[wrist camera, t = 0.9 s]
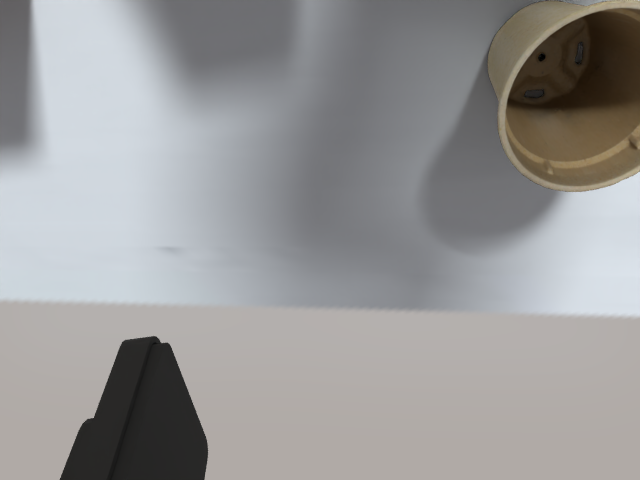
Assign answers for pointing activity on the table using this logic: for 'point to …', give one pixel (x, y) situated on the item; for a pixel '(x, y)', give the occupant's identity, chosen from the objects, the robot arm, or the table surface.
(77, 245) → the table surface
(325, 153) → the table surface
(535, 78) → the flower pot
